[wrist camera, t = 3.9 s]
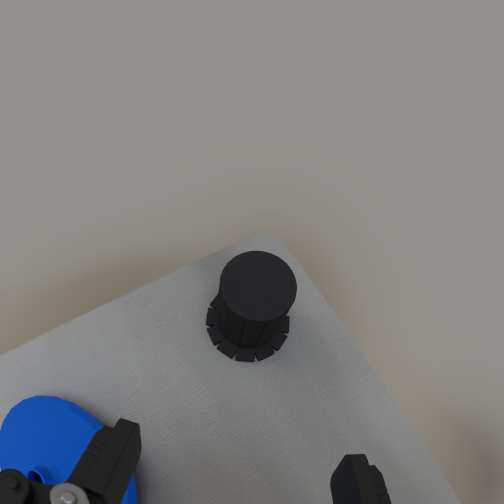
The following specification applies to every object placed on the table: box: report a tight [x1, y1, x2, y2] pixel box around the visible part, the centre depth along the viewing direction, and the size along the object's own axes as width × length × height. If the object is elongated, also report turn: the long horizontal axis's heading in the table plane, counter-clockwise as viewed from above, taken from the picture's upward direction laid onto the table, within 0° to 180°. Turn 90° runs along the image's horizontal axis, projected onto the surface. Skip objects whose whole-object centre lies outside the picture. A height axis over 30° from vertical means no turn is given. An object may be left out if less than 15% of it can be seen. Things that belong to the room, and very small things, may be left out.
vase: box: [0, 396, 137, 504], centre depth 16 cm, size 16×16×7 cm
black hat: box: [206, 251, 297, 362], centre depth 25 cm, size 8×8×9 cm
